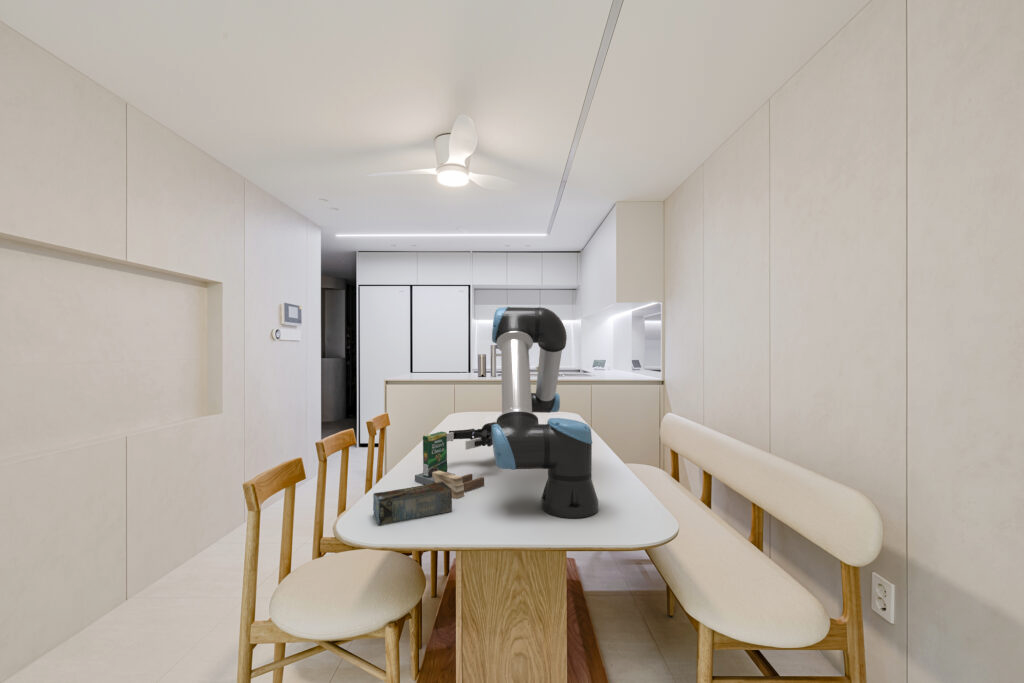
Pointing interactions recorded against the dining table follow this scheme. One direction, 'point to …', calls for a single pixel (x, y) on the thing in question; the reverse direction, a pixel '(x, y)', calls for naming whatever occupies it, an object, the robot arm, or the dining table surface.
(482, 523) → the dining table surface
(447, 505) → the beverage carton
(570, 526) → the dining table surface
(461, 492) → the offcut stack
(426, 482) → the stand pad
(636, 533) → the dining table surface
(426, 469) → the coffee box
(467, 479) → the walnut rack
